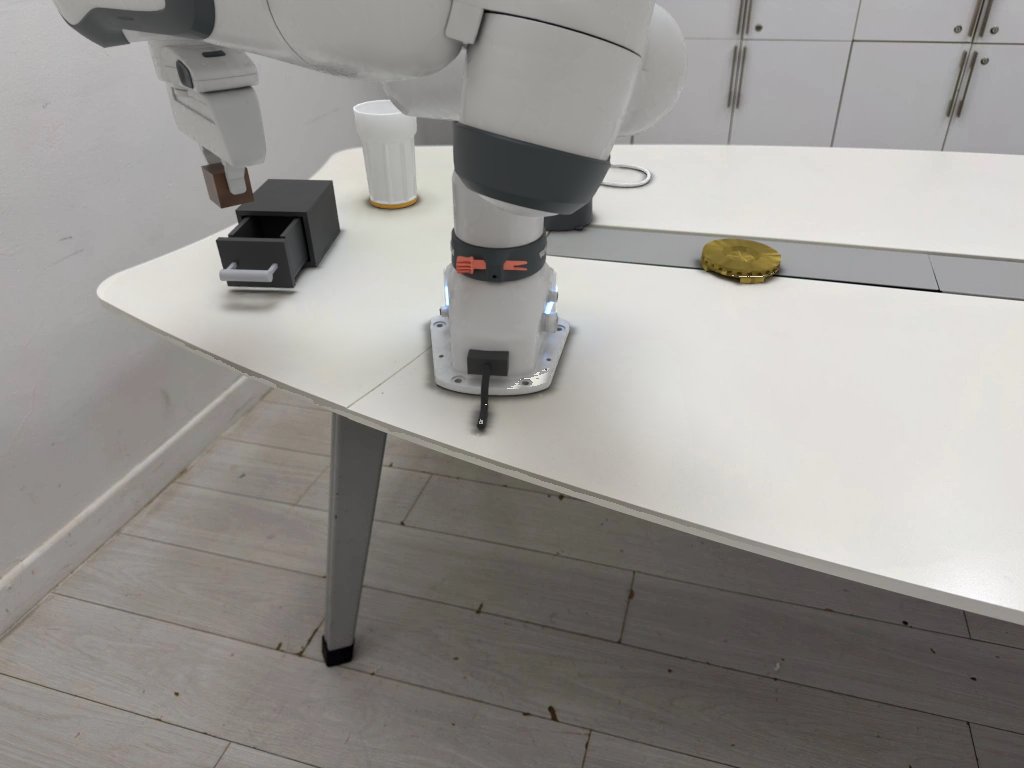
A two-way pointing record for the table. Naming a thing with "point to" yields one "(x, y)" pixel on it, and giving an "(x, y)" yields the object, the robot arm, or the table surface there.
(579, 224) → the light fixture
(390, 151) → the cup
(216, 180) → the block
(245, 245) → the drawer
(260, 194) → the cabinet
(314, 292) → the table surface
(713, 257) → the compass
